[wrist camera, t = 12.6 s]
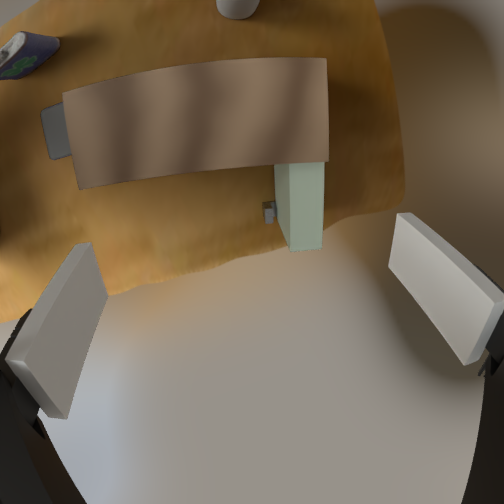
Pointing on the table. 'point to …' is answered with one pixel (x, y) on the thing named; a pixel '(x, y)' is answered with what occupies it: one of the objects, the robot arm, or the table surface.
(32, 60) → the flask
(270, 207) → the hinge clips
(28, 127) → the table surface
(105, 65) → the table surface
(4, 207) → the table surface
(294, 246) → the pale green square block
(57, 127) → the smartphone
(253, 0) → the beverage can
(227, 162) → the cabinet
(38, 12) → the table surface
